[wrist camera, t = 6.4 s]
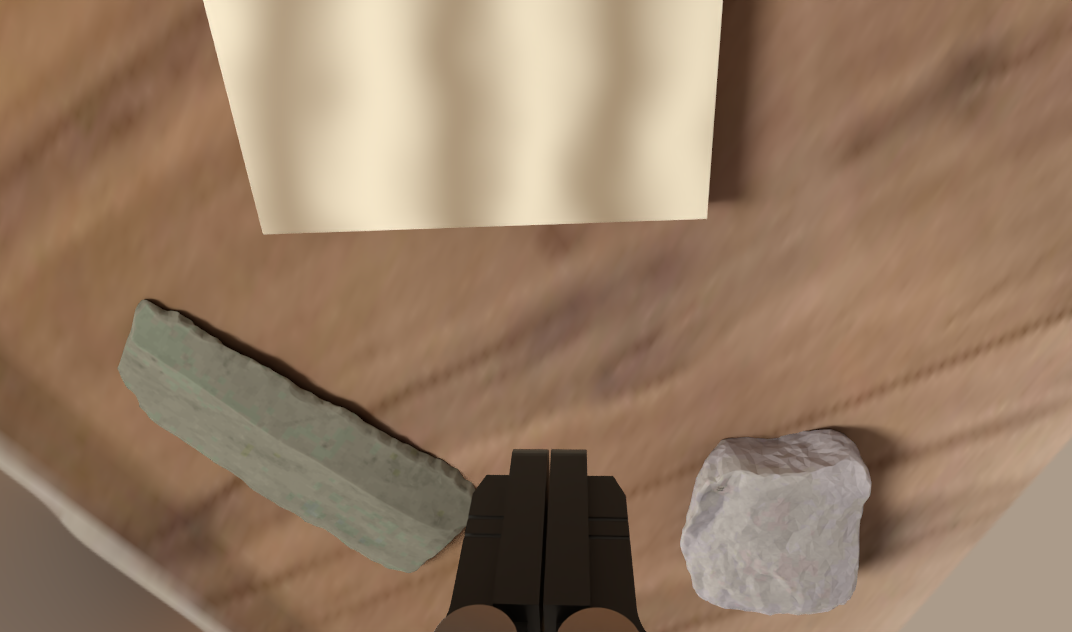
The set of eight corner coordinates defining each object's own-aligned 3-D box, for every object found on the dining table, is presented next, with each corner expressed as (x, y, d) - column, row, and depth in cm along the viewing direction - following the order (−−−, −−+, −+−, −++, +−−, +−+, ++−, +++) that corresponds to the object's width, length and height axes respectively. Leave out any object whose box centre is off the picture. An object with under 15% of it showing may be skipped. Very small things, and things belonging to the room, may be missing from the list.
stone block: (684, 553, 43) (843, 569, 40) (681, 613, 39) (857, 635, 36) (679, 411, 38) (861, 418, 35) (675, 462, 34) (881, 475, 31)
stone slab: (413, 553, 44) (495, 486, 39) (401, 589, 41) (486, 522, 36) (110, 381, 38) (159, 276, 33) (76, 411, 36) (123, 303, 31)
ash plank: (714, -41, 25) (726, -45, 23) (698, 205, 29) (706, 218, 27) (225, -12, 26) (199, -13, 24) (281, 220, 30) (263, 234, 28)
